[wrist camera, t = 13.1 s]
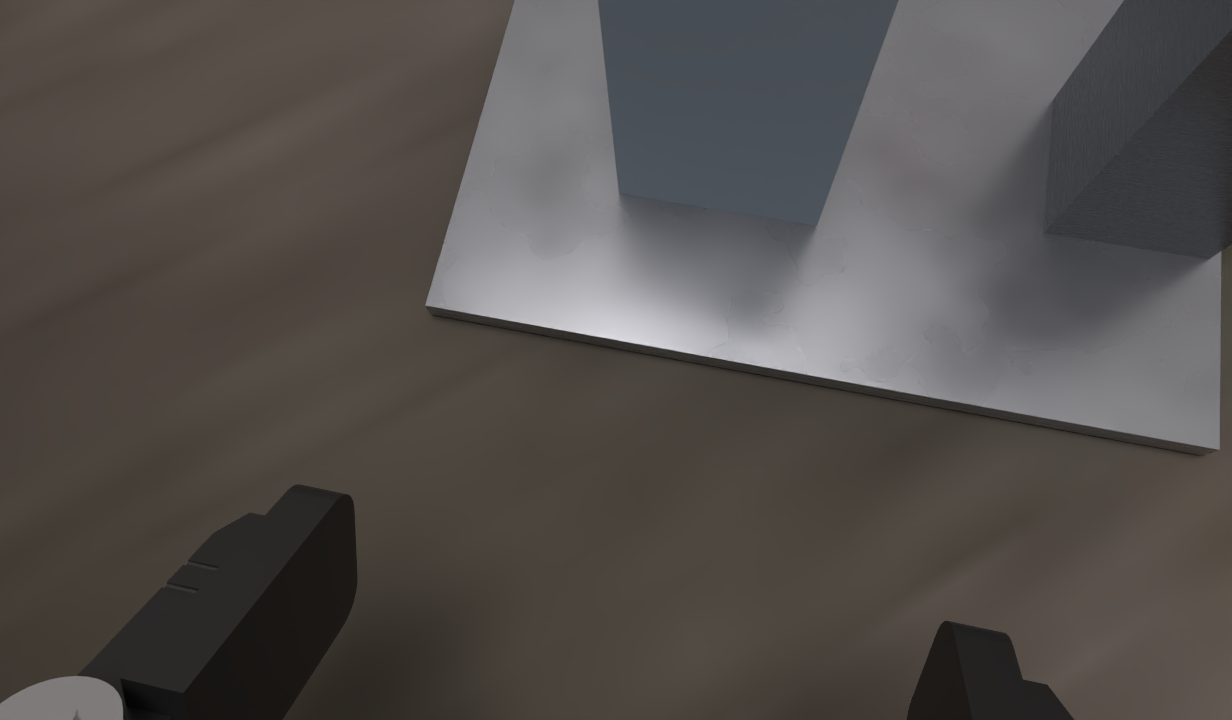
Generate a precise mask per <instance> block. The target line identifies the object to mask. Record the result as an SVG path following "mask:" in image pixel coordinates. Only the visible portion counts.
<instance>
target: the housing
mask: <svg viewBox="0 0 1232 720" xmlns="http://www.w3.org/2000/svg"><path fill="white" fill-rule="evenodd" d="M898 1H899V0H598V6H599V16H600V25H601V34H602V43H603V52H604V62H605V71H606V80H607V89H608V98H609V107H610V117H611V126H612V135H613V144H614V153H615V163H616V172H617V181H618V190H619V194H625V195H631V196H637V197H643V198H649V199H656V200H662V201H668V202H674V203H680V204H686V205H692V206H698V207H704V208H710V209H717V210H723V211H729V212H735V213H741V214H747V215H753V216H759V217H765V218H772V219H778V220H784V221H790V222H796V223H802V224H808V225H814V226H817V225H818V222H819V219H820V216H821V214H822V211H823V208H824V205H825V203H826V200H827V197H828V194H829V192H830V189H831V186H832V183H833V180H834V178H835V175H836V172H837V169H838V167H839V164H840V161H841V158H842V156H843V153H844V150H845V147H846V145H847V142H848V139H849V136H850V133H851V131H852V128H853V125H854V122H855V120H856V117H857V114H858V111H859V109H860V106H861V103H862V100H863V98H864V95H865V92H866V89H867V86H868V84H869V81H870V78H871V75H872V73H873V70H874V67H875V64H876V62H877V59H878V56H879V53H880V51H881V48H882V45H883V42H884V39H885V37H886V34H887V31H888V28H889V26H890V23H891V20H892V17H893V15H894V12H895V9H896V6H897V4H898Z"/></svg>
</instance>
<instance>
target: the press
mask: <svg viewBox="0 0 1232 720" xmlns="http://www.w3.org/2000/svg"><path fill="white" fill-rule="evenodd" d="M1230 244H1232V0H899V1H898V4H897V6H896V9H895V12H894V15H893V17H892V20H891V23H890V26H889V28H888V31H887V34H886V37H885V39H884V42H883V45H882V48H881V51H880V53H879V56H878V59H877V62H876V64H875V67H874V70H873V73H872V75H871V78H870V81H869V84H868V86H867V89H866V92H865V95H864V98H863V100H862V103H861V106H860V109H859V111H858V114H857V117H856V120H855V122H854V125H853V128H852V131H851V133H850V136H849V139H848V142H847V145H846V147H845V150H844V153H843V156H842V158H841V161H840V164H839V167H838V169H837V172H836V175H835V178H834V180H833V183H832V186H831V189H830V192H829V194H828V197H827V200H826V203H825V205H824V208H823V211H822V214H821V216H820V219H819V222H818V225H817V226H814V225H808V224H802V223H796V222H790V221H784V220H778V219H772V218H765V217H759V216H753V215H747V214H741V213H735V212H729V211H723V210H717V209H710V208H704V207H698V206H692V205H686V204H680V203H674V202H668V201H662V200H656V199H649V198H643V197H637V196H631V195H625V194H619V190H618V181H617V172H616V163H615V153H614V144H613V135H612V126H611V117H610V107H609V98H608V89H607V80H606V71H605V62H604V52H603V43H602V34H601V25H600V16H599V6H598V0H515V2H514V5H513V8H512V12H511V15H510V19H509V22H508V25H507V29H506V32H505V36H504V39H503V42H502V46H501V49H500V53H499V56H498V60H497V63H496V66H495V70H494V73H493V77H492V80H491V83H490V87H489V90H488V94H487V97H486V100H485V104H484V107H483V111H482V114H481V117H480V121H479V124H478V128H477V131H476V135H475V138H474V141H473V145H472V148H471V152H470V155H469V158H468V162H467V165H466V169H465V172H464V175H463V179H462V182H461V186H460V189H459V192H458V196H457V199H456V203H455V206H454V210H453V213H452V216H451V220H450V223H449V227H448V230H447V233H446V237H445V240H444V244H443V247H442V250H441V254H440V257H439V261H438V264H437V268H436V271H435V274H434V278H433V281H432V285H431V288H430V291H429V295H428V298H427V302H426V307H427V308H428V310H429V311H430V312H431V314H432V315H436V316H442V317H447V318H453V319H458V320H464V321H469V322H475V323H480V324H486V325H491V326H497V327H502V328H507V329H513V330H518V331H524V332H529V333H535V334H540V335H546V336H551V337H557V338H562V339H568V340H573V341H579V342H584V343H589V344H595V345H600V346H606V347H611V348H617V349H622V350H628V351H633V352H639V353H644V354H650V355H655V356H660V357H666V358H671V359H677V360H682V361H688V362H693V363H699V364H704V365H710V366H715V367H721V368H726V369H731V370H737V371H742V372H748V373H753V374H759V375H764V376H770V377H775V378H781V379H786V380H792V381H797V382H802V383H808V384H813V385H819V386H824V387H830V388H835V389H841V390H846V391H852V392H857V393H863V394H868V395H874V396H879V397H884V398H890V399H895V400H901V401H906V402H912V403H917V404H923V405H928V406H934V407H939V408H945V409H950V410H955V411H961V412H966V413H972V414H977V415H983V416H988V417H994V418H999V419H1005V420H1010V421H1016V422H1021V423H1026V424H1032V425H1037V426H1043V427H1048V428H1054V429H1059V430H1065V431H1070V432H1076V433H1081V434H1087V435H1092V436H1098V437H1103V438H1108V439H1114V440H1119V441H1125V442H1130V443H1136V444H1141V445H1147V446H1152V447H1158V448H1163V449H1169V450H1174V451H1179V452H1185V453H1190V454H1196V455H1201V456H1203V455H1206V454H1209V453H1212V452H1215V451H1218V450H1220V344H1221V251H1222V250H1223V249H1225V248H1226V247H1228V246H1229V245H1230Z"/></svg>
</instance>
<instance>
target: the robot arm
mask: <svg viewBox="0 0 1232 720" xmlns="http://www.w3.org/2000/svg"><path fill="white" fill-rule="evenodd" d="M356 588H357V559H356V537H355V514H354V503H353V500H352V498H351V497H350V495H347V494H343V493H338V492H333V491H328V490H323V489H318V488H314V487H309V486H304V485H294V486H292V487H291V488H290V489H289V490H288V491H287V492H286V493H285V494H284V495H283V496H282V497H281V498H280V500H279V501H278V502H277V503H276V504H275V505H274V506H273V507H272V508H271V510H270V511H269V512H268V513H267V514H266V515H265V516H263V515H258V514H254V513H248V514H247V515H245V516H243V517H241V518H240V519H238V520H236V521H234V522H232V523H231V524H229V525H227V526H225V527H223V528H222V529H220V530H218V531H216V532H215V533H213V534H212V535H211V536H210V537H209V538H208V540H207V541H206V542H205V543H204V544H203V545H202V546H201V547H200V548H199V549H198V550H197V551H196V552H195V553H194V554H193V555H192V556H191V557H190V558H189V559H188V564H187V565H186V566H185V565H183V566H182V567H181V568H180V569H179V570H178V571H177V572H176V573H175V574H174V575H173V576H172V577H171V578H170V579H169V580H168V581H167V586H166V587H165V588H161V589H160V590H159V591H158V592H157V593H156V594H155V595H154V596H153V597H152V598H151V599H150V600H149V601H148V602H147V604H146V605H145V606H144V607H143V608H142V609H141V610H140V611H139V612H138V613H137V614H136V615H135V616H134V617H133V618H132V619H131V620H130V621H129V622H128V623H127V624H126V626H125V627H124V628H123V629H122V630H121V631H120V632H119V633H118V634H117V635H116V636H115V637H114V638H113V639H112V640H111V641H110V642H109V643H108V644H107V645H106V647H105V648H104V649H103V650H102V651H101V652H100V653H99V654H98V655H97V656H96V657H95V658H94V659H93V660H92V661H91V662H90V663H89V664H88V665H87V666H86V667H85V669H84V670H83V671H81V672H80V673H79V674H78V675H77V676H70V677H61V678H56V679H51V680H48V681H44V682H41V683H38V684H35V685H33V686H31V687H28V688H26V689H24V690H22V691H20V692H18V693H16V694H14V695H13V696H11V697H10V698H8V699H7V700H5V701H3V702H2V703H1V704H0V720H283V718H284V716H285V715H286V713H287V712H288V710H289V709H290V707H291V706H292V704H293V703H294V701H295V699H296V698H297V696H298V695H299V693H300V692H301V690H302V689H303V687H304V686H305V684H306V682H307V681H308V679H309V678H310V676H311V675H312V673H313V672H314V670H315V668H316V667H317V665H318V664H319V662H320V661H321V659H322V658H323V656H324V655H325V653H326V651H327V650H328V648H329V647H330V645H331V644H332V642H333V641H334V639H335V638H336V636H337V634H338V633H339V631H340V630H341V628H342V627H343V625H344V623H345V622H346V620H347V618H348V615H349V613H350V611H351V608H352V605H353V601H354V598H355V593H356ZM907 720H1074V719H1073V718H1072V716H1071V715H1070V714H1069V712H1068V711H1067V710H1066V708H1065V707H1064V706H1063V705H1062V703H1061V702H1060V701H1059V699H1058V698H1057V697H1056V695H1055V694H1054V693H1053V692H1052V690H1051V689H1050V688H1049V686H1048V685H1046V684H1041V683H1037V682H1032V681H1027V680H1023V679H1022V675H1021V672H1020V668H1019V665H1018V662H1017V658H1016V655H1015V651H1014V648H1013V645H1012V642H1011V639H1010V638H1009V636H1008V635H1007V634H1006V633H1003V632H998V631H993V630H988V629H983V628H979V627H974V626H969V625H964V624H959V623H955V622H950V621H944V622H943V623H942V624H941V625H940V627H939V629H938V631H937V634H936V636H935V639H934V642H933V644H932V647H931V649H930V652H929V655H928V657H927V660H926V663H925V665H924V668H923V671H922V673H921V676H920V679H919V681H918V684H917V687H916V689H915V692H914V695H913V697H912V700H911V703H910V707H909V711H908V716H907Z"/></svg>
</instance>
